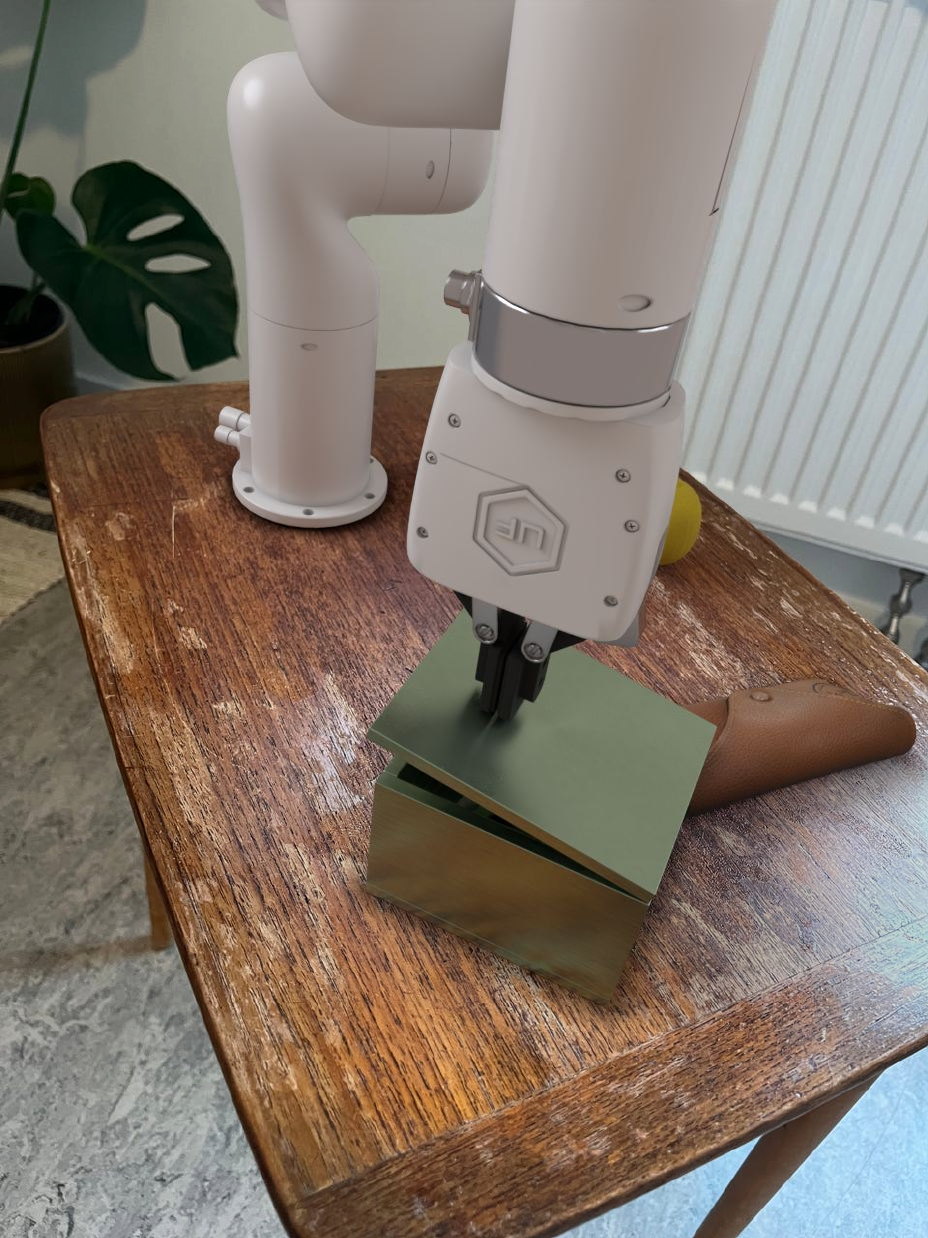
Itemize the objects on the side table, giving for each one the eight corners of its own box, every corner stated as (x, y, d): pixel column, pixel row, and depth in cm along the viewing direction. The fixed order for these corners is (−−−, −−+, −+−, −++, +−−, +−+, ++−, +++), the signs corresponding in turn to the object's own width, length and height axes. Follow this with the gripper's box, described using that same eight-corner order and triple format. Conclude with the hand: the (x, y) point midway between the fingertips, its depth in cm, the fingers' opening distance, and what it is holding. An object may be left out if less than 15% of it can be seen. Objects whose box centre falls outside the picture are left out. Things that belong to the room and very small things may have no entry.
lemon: (684, 591, 75) (713, 505, 70) (614, 576, 75) (638, 489, 70) (686, 552, 79) (713, 468, 74) (619, 538, 79) (642, 453, 74)
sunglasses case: (824, 671, 68) (889, 641, 62) (862, 766, 67) (933, 745, 61) (607, 725, 62) (656, 698, 56) (643, 833, 60) (698, 817, 54)
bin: (365, 891, 51) (374, 782, 45) (458, 750, 59) (476, 643, 54) (607, 1009, 47) (649, 905, 42) (669, 841, 56) (711, 736, 50)
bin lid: (365, 738, 44) (368, 727, 43) (471, 603, 52) (475, 592, 52) (648, 904, 42) (655, 895, 41) (710, 735, 50) (717, 726, 50)
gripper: (346, 314, 34) (332, 687, 46) (758, 439, 30) (629, 813, 42) (438, 258, 40) (405, 604, 51) (797, 358, 36) (674, 708, 47)
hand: (506, 697), depth 47 cm, fingers closed
